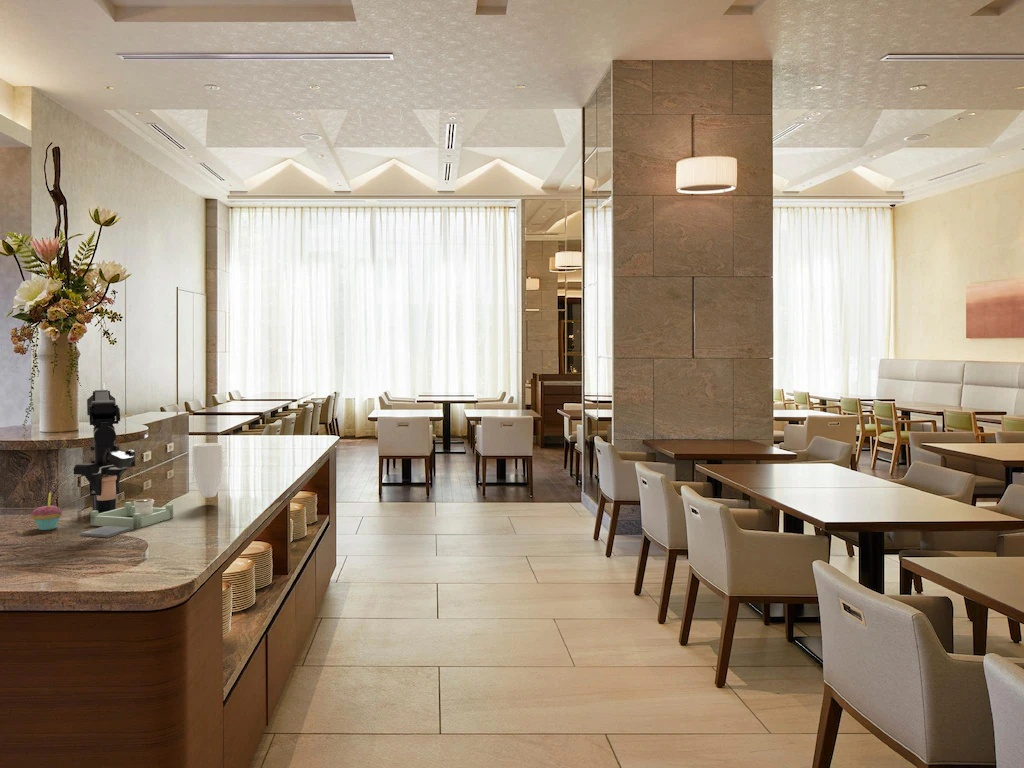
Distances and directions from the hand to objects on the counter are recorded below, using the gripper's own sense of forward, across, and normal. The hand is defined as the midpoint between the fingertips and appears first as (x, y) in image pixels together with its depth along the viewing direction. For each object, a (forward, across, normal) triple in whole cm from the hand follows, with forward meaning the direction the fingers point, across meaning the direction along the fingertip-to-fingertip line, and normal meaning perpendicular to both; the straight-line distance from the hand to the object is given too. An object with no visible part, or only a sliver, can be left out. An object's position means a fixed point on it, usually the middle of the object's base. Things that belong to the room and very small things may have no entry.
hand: (106, 494), depth 240 cm
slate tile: (+12, 0, 0) cm, 12 cm away
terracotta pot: (+2, 0, 0) cm, 2 cm away
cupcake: (+12, 0, +23) cm, 26 cm away
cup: (+12, +45, -2) cm, 46 cm away
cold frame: (+12, +15, +4) cm, 19 cm away
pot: (+12, +15, 0) cm, 19 cm away
